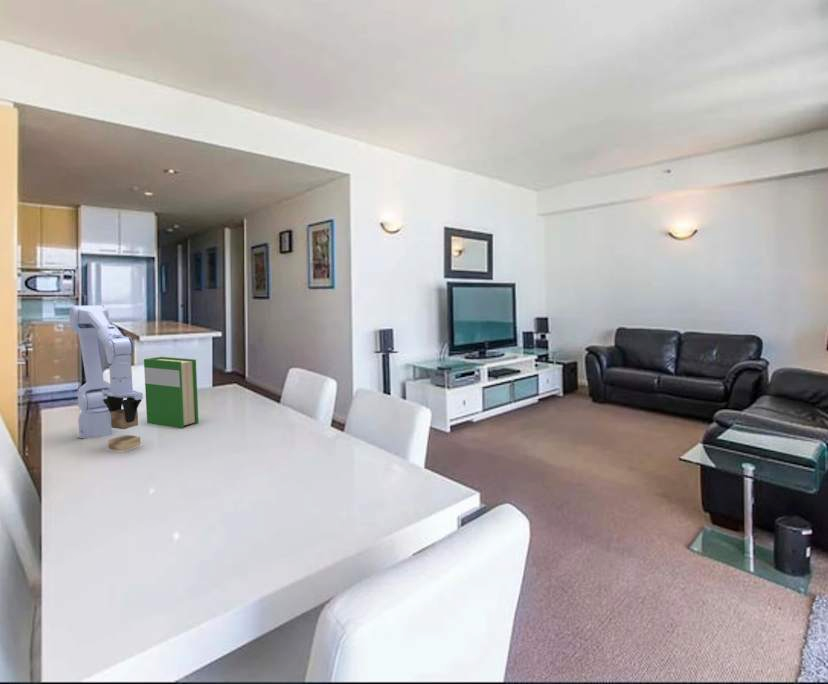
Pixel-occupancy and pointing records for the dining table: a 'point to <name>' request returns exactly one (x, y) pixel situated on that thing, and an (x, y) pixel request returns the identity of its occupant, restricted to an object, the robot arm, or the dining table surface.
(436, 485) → the dining table surface
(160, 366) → the hardback book
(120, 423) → the walnut cube
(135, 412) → the robot arm
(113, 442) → the oak block
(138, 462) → the dining table surface
